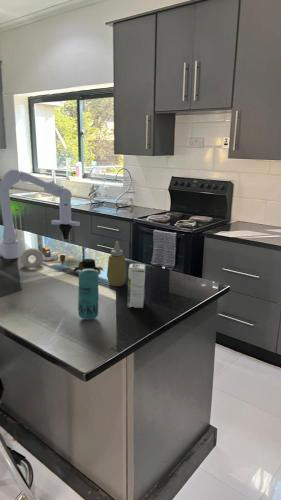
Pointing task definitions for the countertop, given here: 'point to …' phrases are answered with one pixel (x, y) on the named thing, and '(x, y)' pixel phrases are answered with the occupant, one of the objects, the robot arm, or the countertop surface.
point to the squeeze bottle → (116, 267)
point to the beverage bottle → (88, 290)
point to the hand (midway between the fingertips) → (65, 239)
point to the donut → (31, 252)
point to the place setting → (62, 258)
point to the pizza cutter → (49, 255)
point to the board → (57, 261)
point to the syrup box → (136, 285)
